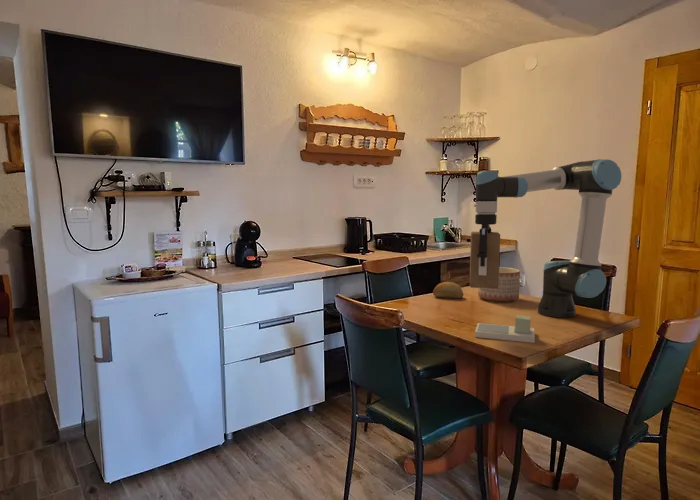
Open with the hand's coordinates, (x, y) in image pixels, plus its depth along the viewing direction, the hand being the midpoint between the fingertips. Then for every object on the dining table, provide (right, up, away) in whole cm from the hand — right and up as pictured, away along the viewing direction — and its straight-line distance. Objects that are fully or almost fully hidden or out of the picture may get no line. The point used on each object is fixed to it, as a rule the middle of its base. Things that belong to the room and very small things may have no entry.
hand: (484, 272), depth 173 cm
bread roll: (-1, -16, +61) cm, 63 cm away
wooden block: (0, -5, +1) cm, 5 cm away
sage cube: (+12, -21, -6) cm, 25 cm away
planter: (+23, -16, +56) cm, 63 cm away
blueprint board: (+6, -22, -4) cm, 24 cm away
